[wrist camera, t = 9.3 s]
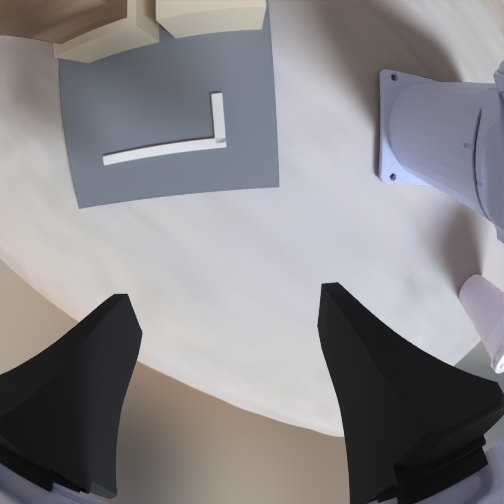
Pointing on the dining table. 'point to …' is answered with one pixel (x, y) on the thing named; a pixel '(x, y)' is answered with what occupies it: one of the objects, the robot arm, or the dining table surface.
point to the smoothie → (486, 315)
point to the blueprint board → (171, 101)
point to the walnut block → (57, 17)
